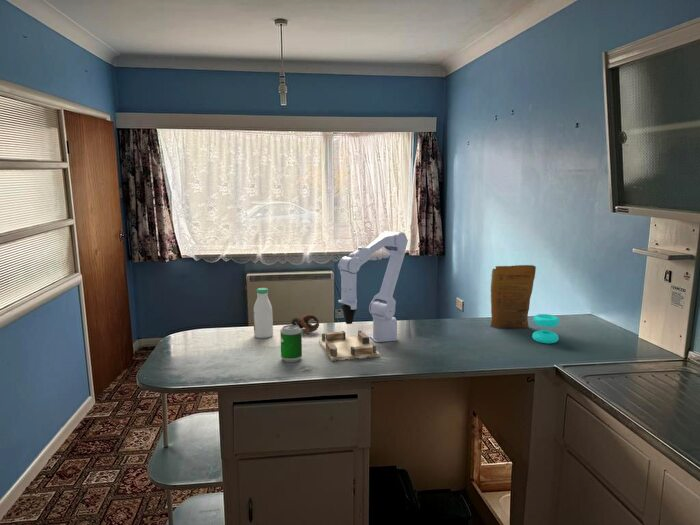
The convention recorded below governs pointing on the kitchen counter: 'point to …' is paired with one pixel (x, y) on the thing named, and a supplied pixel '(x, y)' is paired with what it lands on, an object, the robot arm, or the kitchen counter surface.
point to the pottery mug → (306, 323)
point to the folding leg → (335, 335)
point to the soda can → (291, 343)
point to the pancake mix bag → (511, 295)
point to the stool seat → (349, 347)
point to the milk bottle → (263, 315)
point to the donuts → (545, 335)
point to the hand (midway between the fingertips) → (348, 323)
